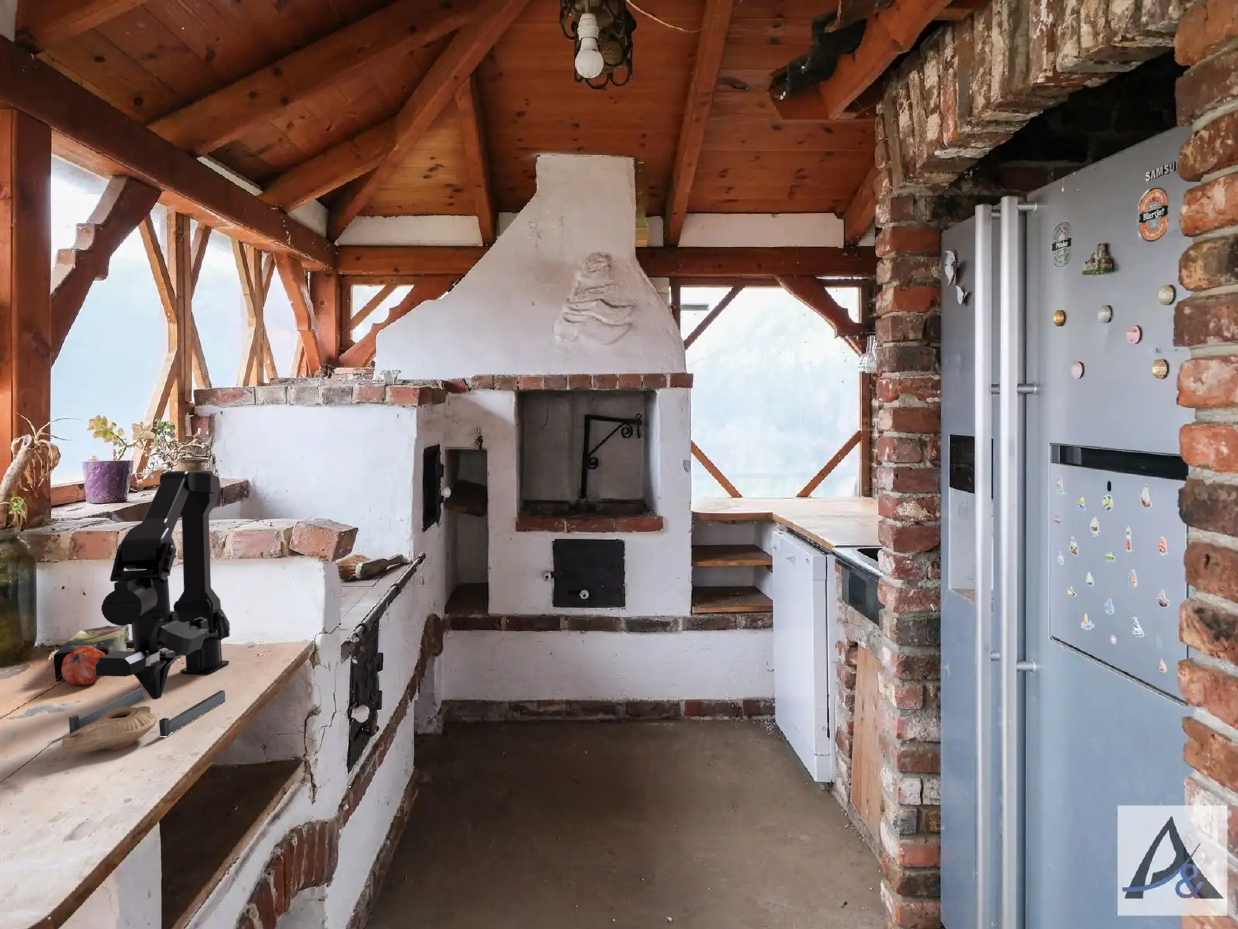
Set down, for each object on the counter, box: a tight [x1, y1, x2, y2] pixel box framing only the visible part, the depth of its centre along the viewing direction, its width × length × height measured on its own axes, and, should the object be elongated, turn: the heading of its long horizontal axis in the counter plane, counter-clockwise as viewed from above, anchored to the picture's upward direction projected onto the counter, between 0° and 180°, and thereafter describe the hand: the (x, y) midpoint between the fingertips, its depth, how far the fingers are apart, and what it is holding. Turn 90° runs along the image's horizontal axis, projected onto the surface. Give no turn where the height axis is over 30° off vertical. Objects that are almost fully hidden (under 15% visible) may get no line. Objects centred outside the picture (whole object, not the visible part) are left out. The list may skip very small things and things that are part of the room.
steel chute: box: [68, 687, 226, 737], centre depth 129 cm, size 15×17×3 cm
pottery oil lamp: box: [60, 705, 158, 754], centre depth 117 cm, size 9×12×7 cm
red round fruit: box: [61, 646, 105, 686], centre depth 146 cm, size 7×7×10 cm
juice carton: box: [53, 624, 131, 682], centre depth 158 cm, size 20×10×6 cm, turn 23°
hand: (156, 698), depth 130 cm, fingers closed
